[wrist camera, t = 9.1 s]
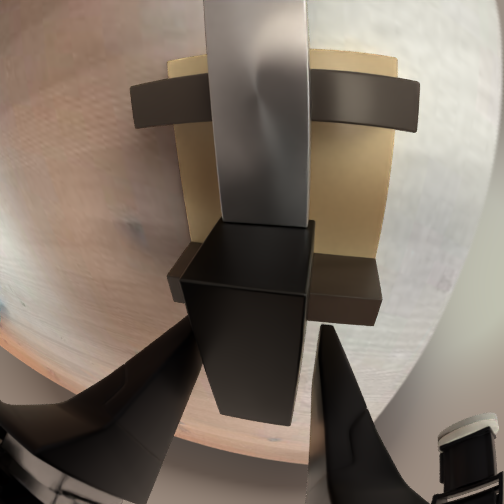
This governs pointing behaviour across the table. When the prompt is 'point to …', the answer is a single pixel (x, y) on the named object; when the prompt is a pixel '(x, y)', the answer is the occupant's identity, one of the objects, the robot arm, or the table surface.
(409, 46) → the table surface
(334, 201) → the rack
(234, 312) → the knife
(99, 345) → the table surface
